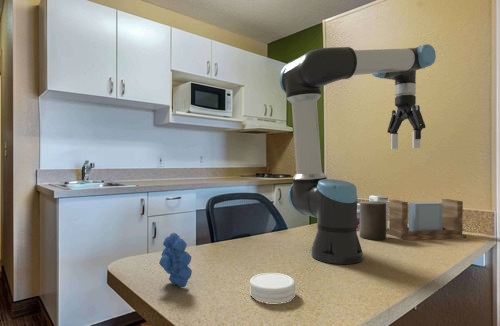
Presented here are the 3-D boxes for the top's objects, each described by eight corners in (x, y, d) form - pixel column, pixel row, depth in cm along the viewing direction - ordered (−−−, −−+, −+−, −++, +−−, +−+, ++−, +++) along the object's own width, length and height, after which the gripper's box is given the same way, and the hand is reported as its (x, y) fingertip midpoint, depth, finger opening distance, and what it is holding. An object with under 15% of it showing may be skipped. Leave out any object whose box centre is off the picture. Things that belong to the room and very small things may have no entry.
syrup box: (368, 227, 140) (368, 195, 140) (379, 227, 142) (379, 195, 142) (376, 230, 135) (377, 196, 135) (388, 229, 137) (388, 196, 137)
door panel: (415, 234, 124) (415, 203, 124) (408, 232, 128) (408, 202, 128) (442, 233, 126) (442, 203, 126) (434, 231, 130) (435, 202, 130)
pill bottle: (356, 227, 141) (356, 202, 141) (369, 229, 137) (369, 204, 137) (348, 229, 137) (348, 203, 137) (361, 231, 133) (361, 205, 133)
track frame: (405, 240, 119) (405, 202, 119) (386, 233, 130) (386, 199, 130) (466, 237, 123) (466, 201, 123) (443, 231, 135) (443, 198, 135)
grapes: (148, 282, 76) (148, 232, 76) (173, 275, 80) (174, 228, 80) (170, 298, 67) (171, 241, 67) (198, 289, 72) (198, 236, 72)
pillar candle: (389, 241, 117) (389, 200, 117) (361, 239, 119) (362, 199, 119) (382, 235, 127) (382, 198, 127) (357, 234, 128) (357, 197, 128)
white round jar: (278, 283, 76) (278, 269, 76) (304, 300, 67) (304, 283, 67) (241, 291, 71) (241, 276, 71) (264, 310, 62) (264, 292, 62)
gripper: (436, 89, 115) (436, 147, 115) (394, 102, 140) (394, 149, 140) (418, 88, 114) (417, 147, 114) (379, 101, 139) (378, 149, 139)
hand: (404, 148), depth 127 cm, fingers open, 13 cm apart
